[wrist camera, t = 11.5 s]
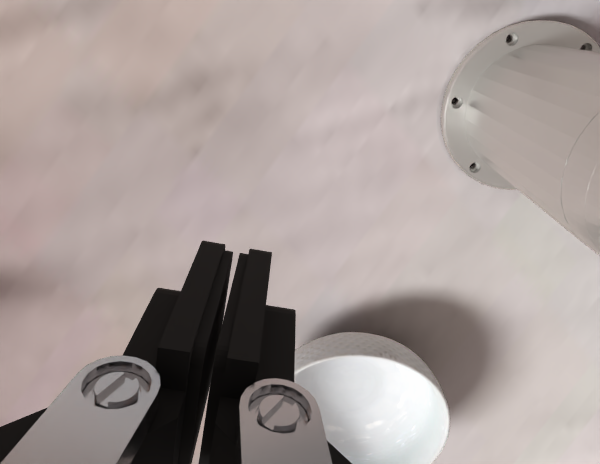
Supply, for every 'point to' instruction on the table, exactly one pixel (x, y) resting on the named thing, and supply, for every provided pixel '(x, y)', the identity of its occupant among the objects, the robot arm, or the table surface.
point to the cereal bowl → (374, 398)
